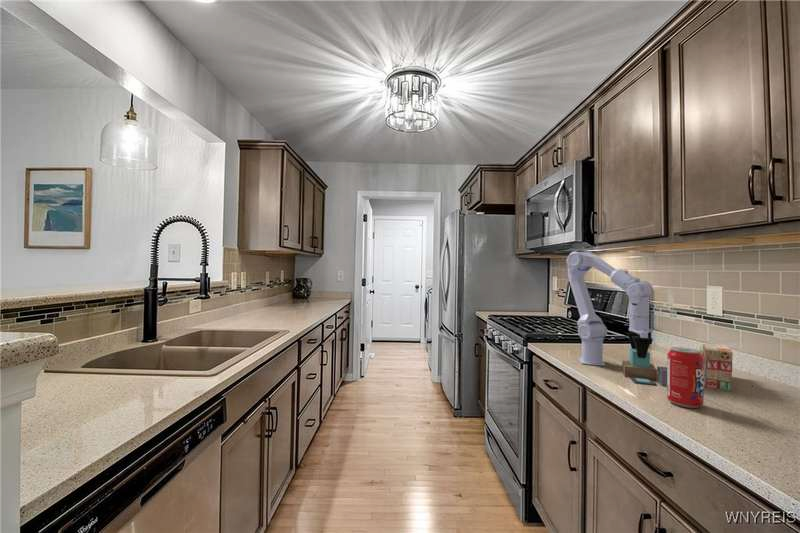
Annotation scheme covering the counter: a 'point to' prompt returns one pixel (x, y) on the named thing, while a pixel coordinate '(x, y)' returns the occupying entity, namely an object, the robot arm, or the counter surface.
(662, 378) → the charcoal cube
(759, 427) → the counter surface
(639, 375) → the walnut block
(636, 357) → the teal cube
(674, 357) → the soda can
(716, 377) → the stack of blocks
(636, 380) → the mat
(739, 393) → the counter surface
